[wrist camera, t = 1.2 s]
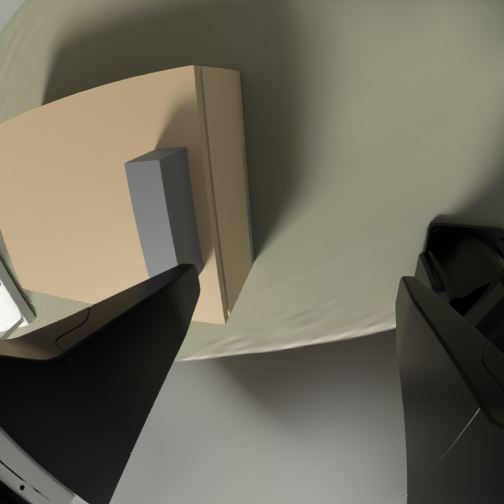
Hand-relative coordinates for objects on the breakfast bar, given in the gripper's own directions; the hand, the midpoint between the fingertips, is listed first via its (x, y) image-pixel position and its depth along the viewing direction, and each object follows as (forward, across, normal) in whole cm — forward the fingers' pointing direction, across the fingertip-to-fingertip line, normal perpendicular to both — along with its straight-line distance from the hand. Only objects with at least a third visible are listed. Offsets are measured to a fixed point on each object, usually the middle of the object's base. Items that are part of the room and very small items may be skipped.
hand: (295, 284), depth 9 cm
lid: (+6, +13, 0) cm, 15 cm away
